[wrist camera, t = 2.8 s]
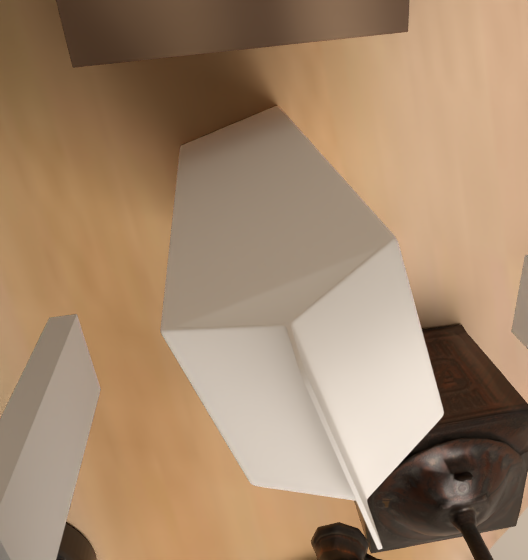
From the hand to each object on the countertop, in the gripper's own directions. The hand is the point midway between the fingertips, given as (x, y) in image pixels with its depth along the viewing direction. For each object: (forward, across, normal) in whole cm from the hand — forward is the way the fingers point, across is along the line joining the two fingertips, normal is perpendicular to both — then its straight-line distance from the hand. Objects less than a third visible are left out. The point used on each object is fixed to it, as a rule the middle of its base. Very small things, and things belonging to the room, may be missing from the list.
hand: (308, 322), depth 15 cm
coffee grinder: (+17, +6, -18) cm, 26 cm away
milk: (+17, 0, 0) cm, 17 cm away
